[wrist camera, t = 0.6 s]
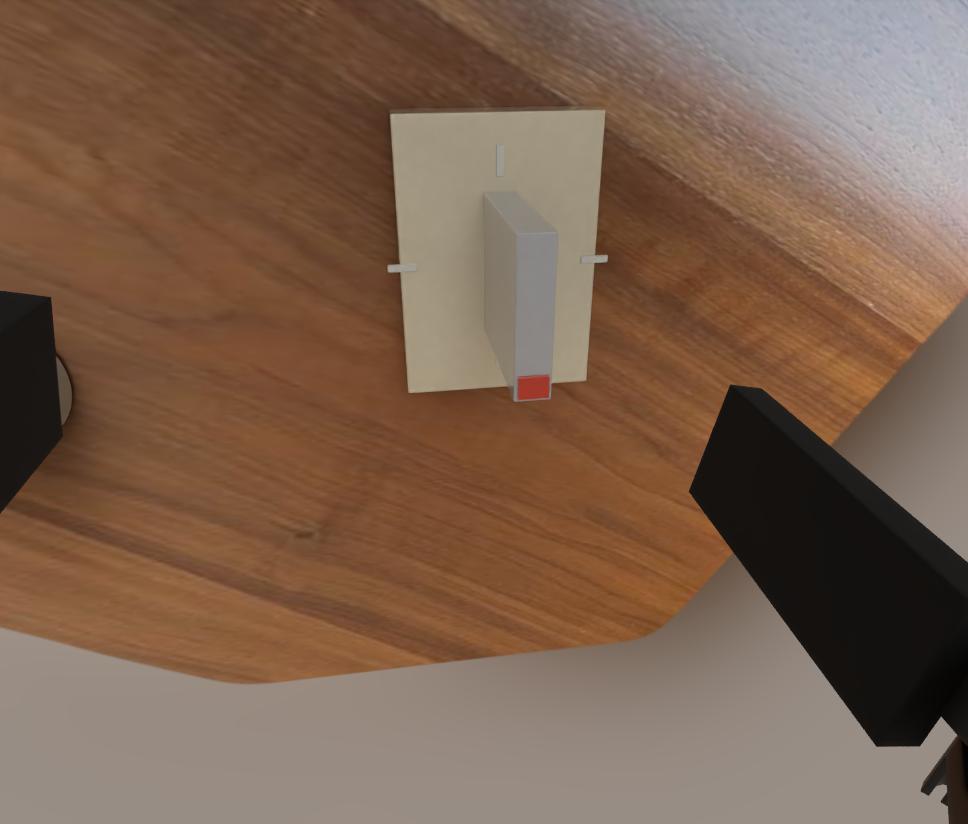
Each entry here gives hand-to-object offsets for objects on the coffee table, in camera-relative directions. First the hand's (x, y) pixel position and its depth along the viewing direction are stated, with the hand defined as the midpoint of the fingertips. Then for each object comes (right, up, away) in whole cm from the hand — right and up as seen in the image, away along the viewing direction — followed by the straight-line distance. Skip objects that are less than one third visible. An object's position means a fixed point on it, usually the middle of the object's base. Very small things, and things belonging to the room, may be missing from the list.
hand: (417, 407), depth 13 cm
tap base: (+2, +9, +23) cm, 25 cm away
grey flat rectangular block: (+2, +7, +21) cm, 22 cm away
